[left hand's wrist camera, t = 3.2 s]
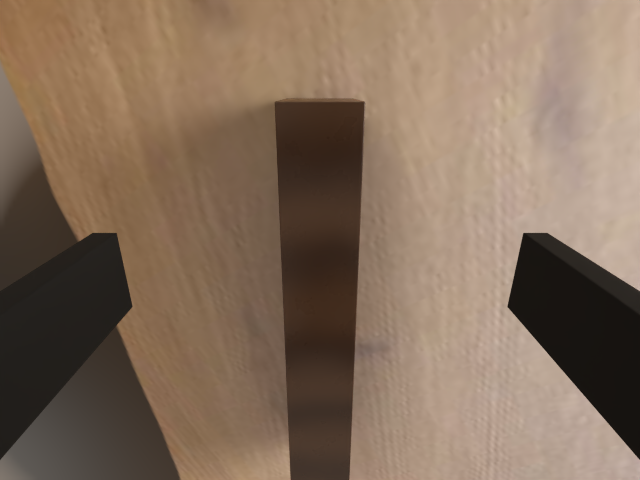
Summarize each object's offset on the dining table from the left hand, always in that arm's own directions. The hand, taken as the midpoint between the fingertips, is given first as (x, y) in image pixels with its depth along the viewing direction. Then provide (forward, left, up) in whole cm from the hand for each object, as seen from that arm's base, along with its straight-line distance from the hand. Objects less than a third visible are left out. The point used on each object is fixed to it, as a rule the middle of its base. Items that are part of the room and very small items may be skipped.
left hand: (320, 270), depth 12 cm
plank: (+10, 0, -16) cm, 19 cm away
